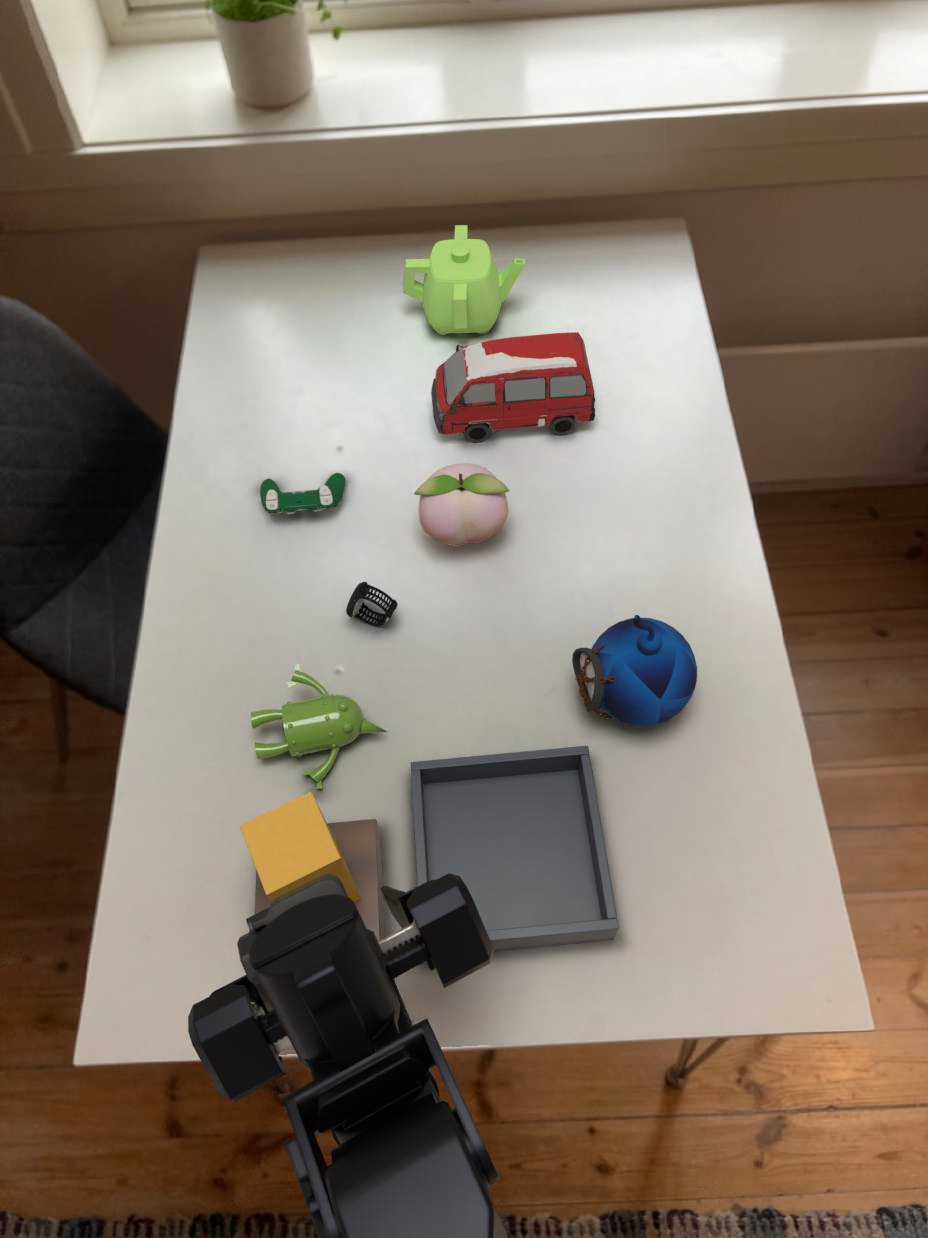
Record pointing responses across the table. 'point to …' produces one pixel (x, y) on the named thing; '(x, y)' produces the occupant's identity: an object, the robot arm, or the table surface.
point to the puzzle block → (295, 848)
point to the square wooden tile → (355, 870)
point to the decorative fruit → (462, 504)
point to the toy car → (514, 386)
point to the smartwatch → (358, 602)
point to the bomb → (637, 672)
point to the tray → (518, 843)
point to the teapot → (460, 284)
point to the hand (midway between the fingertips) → (326, 921)
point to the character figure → (314, 725)
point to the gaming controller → (302, 496)
